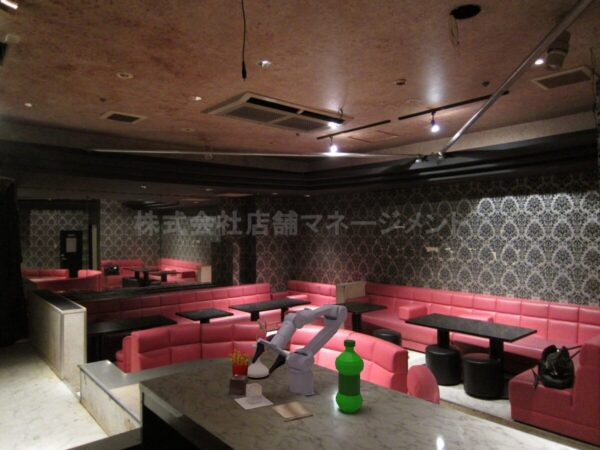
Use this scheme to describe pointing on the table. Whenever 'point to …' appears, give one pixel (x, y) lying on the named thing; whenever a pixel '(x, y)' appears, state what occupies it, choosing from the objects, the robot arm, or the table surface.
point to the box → (238, 384)
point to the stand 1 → (247, 406)
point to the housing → (253, 393)
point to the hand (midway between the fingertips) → (261, 367)
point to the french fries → (239, 363)
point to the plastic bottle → (349, 378)
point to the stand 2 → (292, 410)
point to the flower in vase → (258, 360)
